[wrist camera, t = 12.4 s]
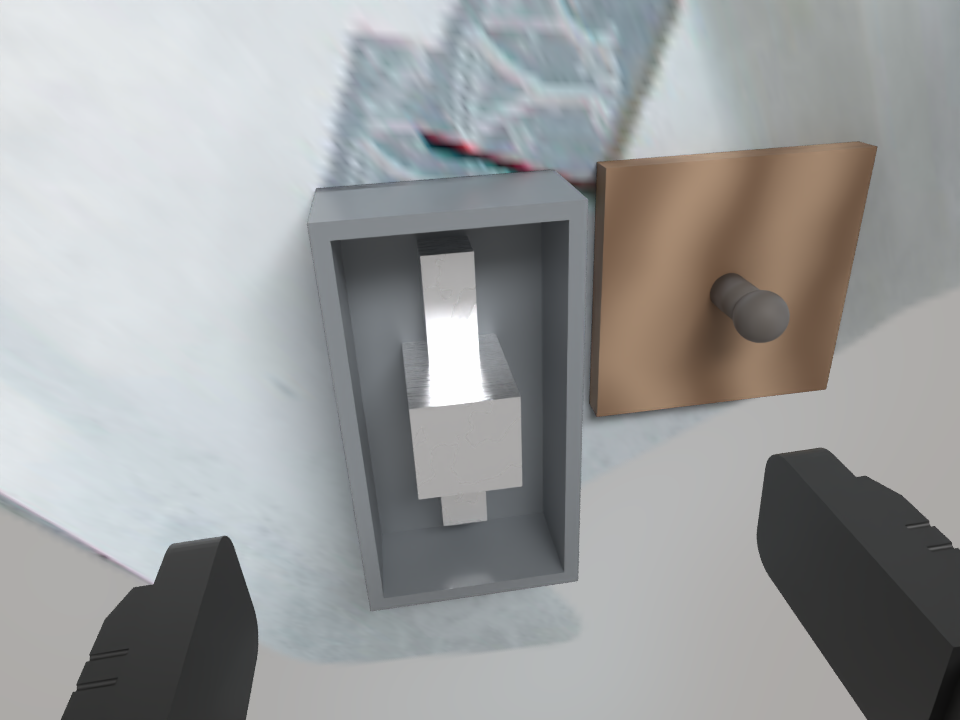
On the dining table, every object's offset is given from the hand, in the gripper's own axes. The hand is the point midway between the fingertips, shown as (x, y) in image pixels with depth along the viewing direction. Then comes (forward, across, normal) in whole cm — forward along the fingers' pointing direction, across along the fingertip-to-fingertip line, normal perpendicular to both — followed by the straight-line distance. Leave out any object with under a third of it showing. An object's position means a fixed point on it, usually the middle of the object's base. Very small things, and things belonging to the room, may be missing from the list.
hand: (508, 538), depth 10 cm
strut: (+25, 0, +11) cm, 28 cm away
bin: (+26, 0, +11) cm, 28 cm away
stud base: (+26, -16, +8) cm, 32 cm away
